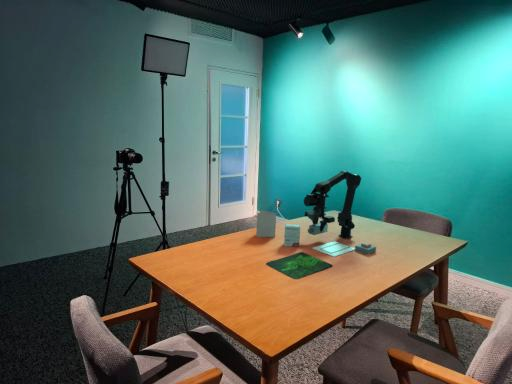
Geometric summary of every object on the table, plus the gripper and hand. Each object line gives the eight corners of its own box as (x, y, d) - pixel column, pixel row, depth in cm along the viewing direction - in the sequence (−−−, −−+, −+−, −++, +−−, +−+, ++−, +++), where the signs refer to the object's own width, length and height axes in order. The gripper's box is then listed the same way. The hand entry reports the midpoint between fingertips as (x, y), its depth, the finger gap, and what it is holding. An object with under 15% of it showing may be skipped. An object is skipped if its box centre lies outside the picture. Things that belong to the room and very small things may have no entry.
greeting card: (275, 236, 209) (276, 213, 206) (269, 240, 203) (270, 215, 200) (259, 233, 215) (260, 209, 212) (253, 236, 209) (254, 212, 206)
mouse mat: (295, 281, 152) (295, 279, 152) (263, 264, 168) (263, 262, 168) (334, 266, 169) (334, 264, 169) (301, 253, 185) (301, 251, 185)
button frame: (363, 247, 196) (363, 242, 196) (375, 251, 190) (376, 246, 190) (354, 250, 191) (355, 245, 191) (367, 254, 185) (368, 249, 185)
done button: (364, 246, 193) (365, 241, 193) (370, 248, 190) (371, 243, 190) (360, 248, 191) (361, 243, 190) (366, 250, 188) (367, 245, 187)
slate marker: (321, 230, 208) (322, 222, 207) (327, 231, 205) (327, 223, 204) (306, 234, 200) (306, 225, 199) (311, 235, 196) (312, 227, 195)
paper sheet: (334, 241, 204) (334, 241, 204) (356, 249, 193) (356, 248, 193) (312, 248, 192) (312, 247, 192) (334, 257, 180) (334, 256, 180)
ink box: (298, 244, 198) (300, 224, 196) (299, 247, 193) (300, 227, 191) (283, 243, 199) (285, 223, 196) (283, 246, 194) (284, 226, 192)
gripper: (298, 203, 202) (297, 228, 205) (323, 210, 188) (321, 237, 191) (311, 201, 209) (309, 225, 212) (336, 207, 195) (334, 233, 198)
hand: (318, 230), depth 203 cm, fingers closed on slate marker, 4 cm apart
